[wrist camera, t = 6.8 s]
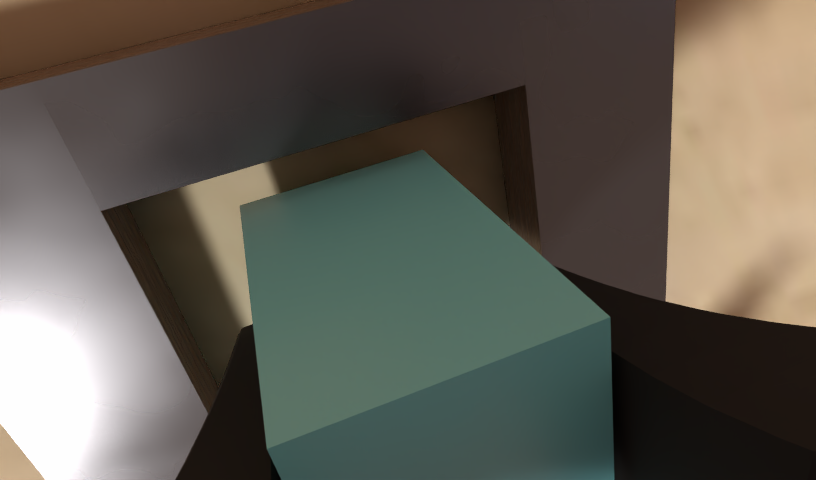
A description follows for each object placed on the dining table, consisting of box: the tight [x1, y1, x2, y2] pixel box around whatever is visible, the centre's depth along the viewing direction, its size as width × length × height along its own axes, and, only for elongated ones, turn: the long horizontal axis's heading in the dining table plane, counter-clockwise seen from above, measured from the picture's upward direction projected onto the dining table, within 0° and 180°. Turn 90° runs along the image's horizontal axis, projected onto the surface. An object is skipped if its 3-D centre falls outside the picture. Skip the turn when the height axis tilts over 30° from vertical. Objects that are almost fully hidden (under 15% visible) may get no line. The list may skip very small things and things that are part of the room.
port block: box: [0, 0, 676, 480], centre depth 12 cm, size 14×11×2 cm
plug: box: [240, 150, 614, 480], centre depth 9 cm, size 4×5×6 cm
